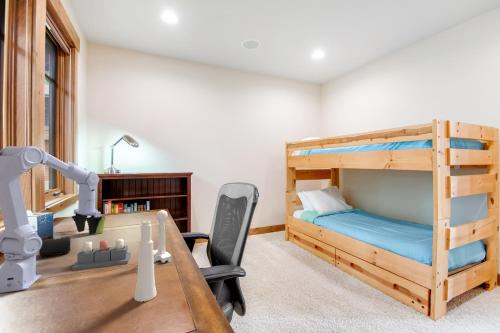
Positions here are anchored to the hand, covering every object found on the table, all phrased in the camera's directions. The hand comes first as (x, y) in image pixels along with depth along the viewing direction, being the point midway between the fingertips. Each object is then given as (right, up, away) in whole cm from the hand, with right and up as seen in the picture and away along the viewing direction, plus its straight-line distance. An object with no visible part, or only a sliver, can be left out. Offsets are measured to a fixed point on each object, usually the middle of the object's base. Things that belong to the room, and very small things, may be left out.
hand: (86, 232), depth 99 cm
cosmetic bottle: (+38, -11, -29) cm, 49 cm away
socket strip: (+10, -10, -5) cm, 15 cm away
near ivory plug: (+5, -6, -7) cm, 11 cm away
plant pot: (-19, -10, +35) cm, 41 cm away
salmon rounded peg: (+10, -7, -5) cm, 13 cm away
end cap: (-15, -10, +2) cm, 18 cm away
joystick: (+31, -11, -2) cm, 32 cm away
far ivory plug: (+16, -7, -3) cm, 17 cm away
